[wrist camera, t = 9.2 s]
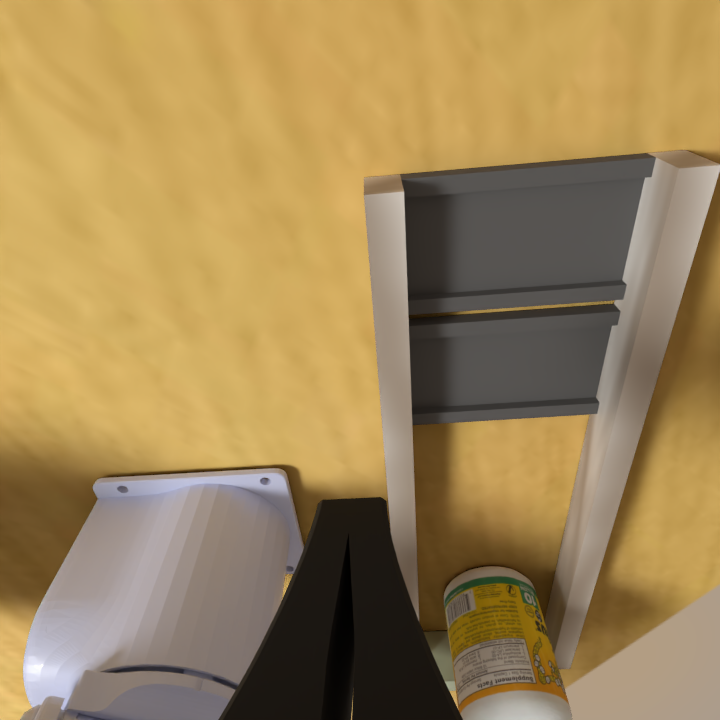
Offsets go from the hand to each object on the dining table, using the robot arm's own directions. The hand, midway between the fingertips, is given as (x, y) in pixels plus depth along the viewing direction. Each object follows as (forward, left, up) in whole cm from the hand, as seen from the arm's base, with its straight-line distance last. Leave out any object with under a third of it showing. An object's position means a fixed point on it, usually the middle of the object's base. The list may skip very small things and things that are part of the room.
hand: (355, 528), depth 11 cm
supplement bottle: (+6, -20, -11) cm, 23 cm away
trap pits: (+6, -1, -10) cm, 12 cm away
